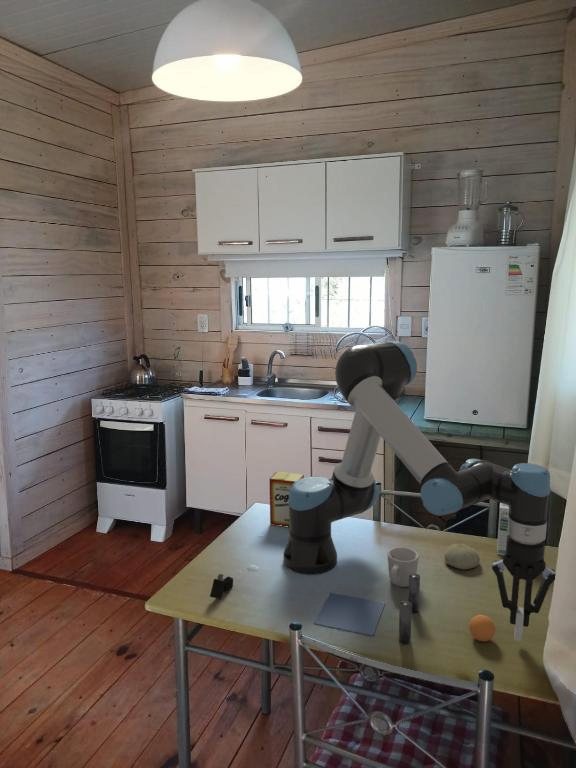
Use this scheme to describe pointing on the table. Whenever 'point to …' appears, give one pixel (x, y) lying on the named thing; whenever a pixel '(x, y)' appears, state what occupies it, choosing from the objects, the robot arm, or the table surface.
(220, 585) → the black spring clamp
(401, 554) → the cup
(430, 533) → the table surface
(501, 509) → the syrup box
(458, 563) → the sea urchin shell
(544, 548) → the robot arm
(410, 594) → the post
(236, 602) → the table surface
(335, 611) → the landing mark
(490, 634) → the ball
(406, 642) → the post
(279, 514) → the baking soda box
